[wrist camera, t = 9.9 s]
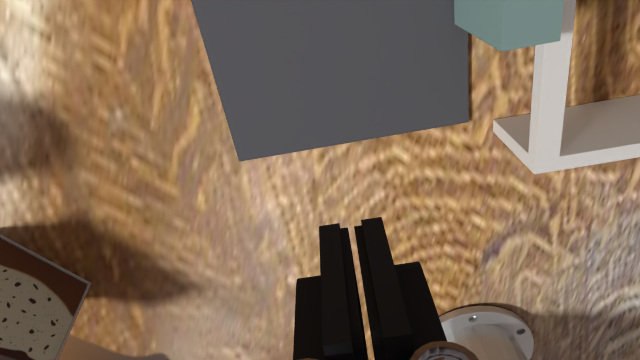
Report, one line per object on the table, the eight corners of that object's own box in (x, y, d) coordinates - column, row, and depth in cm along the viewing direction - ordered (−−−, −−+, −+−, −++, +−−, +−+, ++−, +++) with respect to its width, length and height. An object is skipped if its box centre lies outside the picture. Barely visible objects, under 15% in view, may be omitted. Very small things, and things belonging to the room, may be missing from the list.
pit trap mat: (467, 120, 34) (468, 122, 33) (239, 159, 35) (239, 161, 34) (465, -172, 25) (466, -173, 25) (160, -107, 26) (159, -108, 26)
